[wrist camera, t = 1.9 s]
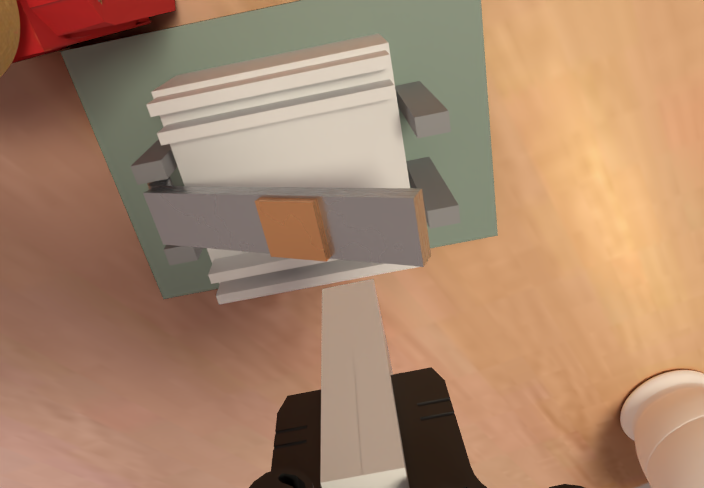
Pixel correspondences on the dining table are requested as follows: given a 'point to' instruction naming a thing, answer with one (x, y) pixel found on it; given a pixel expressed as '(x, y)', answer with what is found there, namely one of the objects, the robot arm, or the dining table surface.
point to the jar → (668, 428)
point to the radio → (66, 23)
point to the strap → (295, 221)
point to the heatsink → (296, 123)
